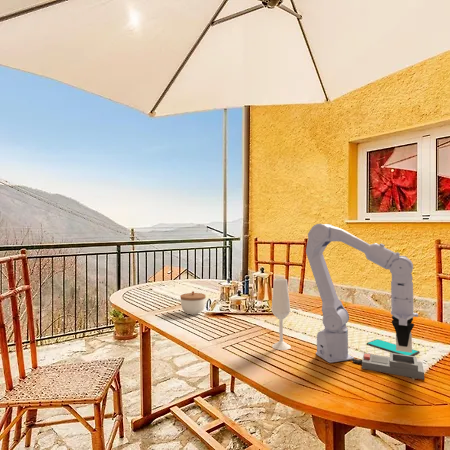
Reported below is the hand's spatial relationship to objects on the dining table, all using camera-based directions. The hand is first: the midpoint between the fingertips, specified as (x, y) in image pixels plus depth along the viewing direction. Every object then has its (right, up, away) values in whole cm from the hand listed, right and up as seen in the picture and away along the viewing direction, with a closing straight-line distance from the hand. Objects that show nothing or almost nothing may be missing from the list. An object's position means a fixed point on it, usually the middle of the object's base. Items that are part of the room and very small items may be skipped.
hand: (402, 343), depth 95 cm
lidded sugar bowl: (-69, -10, +67) cm, 96 cm away
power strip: (-4, -8, +2) cm, 9 cm away
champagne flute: (-33, -9, +20) cm, 39 cm away
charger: (0, -2, 0) cm, 2 cm away
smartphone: (+6, -9, +18) cm, 21 cm away
